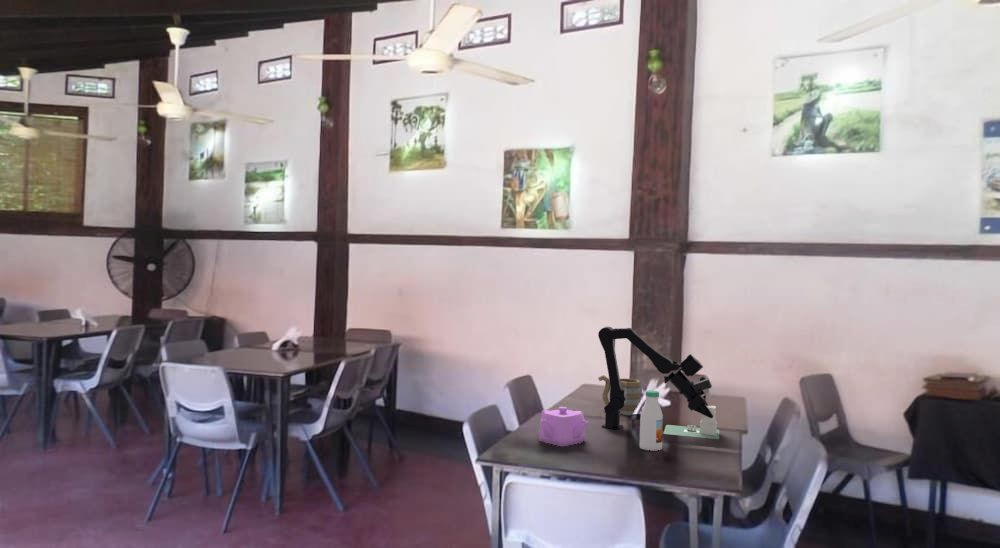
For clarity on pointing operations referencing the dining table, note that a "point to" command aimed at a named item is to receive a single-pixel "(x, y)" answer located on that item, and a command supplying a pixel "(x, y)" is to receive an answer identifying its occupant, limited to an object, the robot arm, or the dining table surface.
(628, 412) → the tankard
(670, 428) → the board
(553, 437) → the pink lidded box
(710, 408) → the plug housing
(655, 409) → the milk bottle
